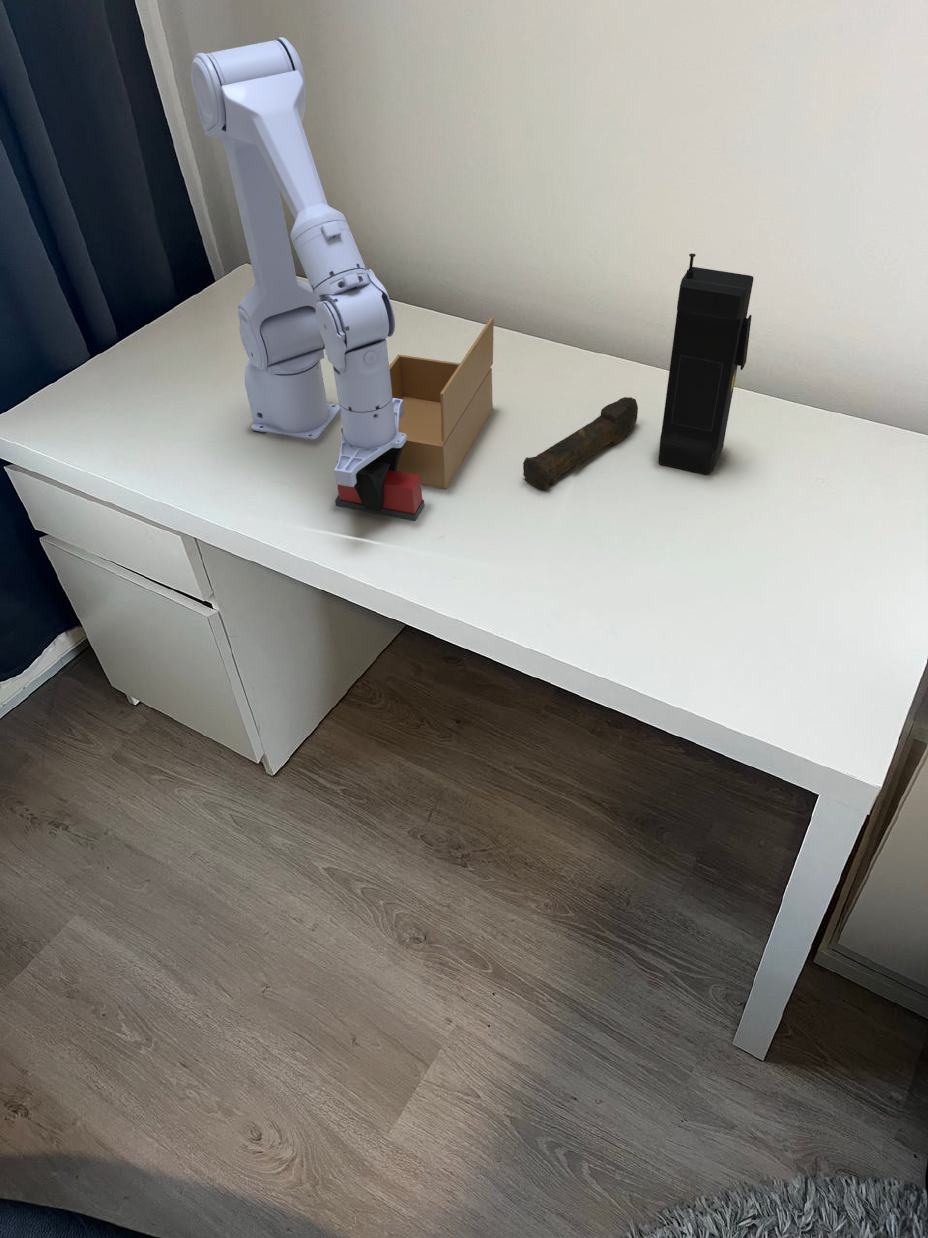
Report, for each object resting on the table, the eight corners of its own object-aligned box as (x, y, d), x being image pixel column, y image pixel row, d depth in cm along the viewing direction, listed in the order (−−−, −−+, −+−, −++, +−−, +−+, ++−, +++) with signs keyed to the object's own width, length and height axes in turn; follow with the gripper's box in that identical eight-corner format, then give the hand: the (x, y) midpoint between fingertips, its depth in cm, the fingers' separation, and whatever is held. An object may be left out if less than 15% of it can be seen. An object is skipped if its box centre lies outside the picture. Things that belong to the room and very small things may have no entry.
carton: (402, 397, 126) (398, 354, 122) (492, 411, 123) (491, 367, 118) (347, 473, 115) (340, 429, 110) (446, 491, 111) (443, 446, 107)
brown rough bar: (544, 496, 110) (545, 464, 107) (520, 481, 112) (521, 449, 109) (652, 432, 118) (656, 400, 115) (628, 420, 120) (631, 388, 117)
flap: (491, 316, 114) (493, 317, 113) (490, 363, 118) (492, 363, 118) (440, 393, 102) (443, 393, 102) (441, 441, 106) (444, 441, 106)
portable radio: (731, 450, 115) (770, 249, 97) (719, 478, 111) (757, 273, 93) (668, 437, 117) (695, 238, 100) (654, 463, 114) (680, 261, 96)
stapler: (336, 508, 110) (330, 474, 107) (346, 493, 112) (341, 459, 109) (415, 523, 107) (412, 489, 104) (424, 507, 109) (421, 474, 106)
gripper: (373, 441, 93) (386, 545, 103) (425, 368, 103) (433, 469, 113) (309, 430, 95) (328, 533, 105) (366, 359, 105) (379, 460, 114)
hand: (378, 500), depth 109 cm, fingers closed on stapler, 3 cm apart
